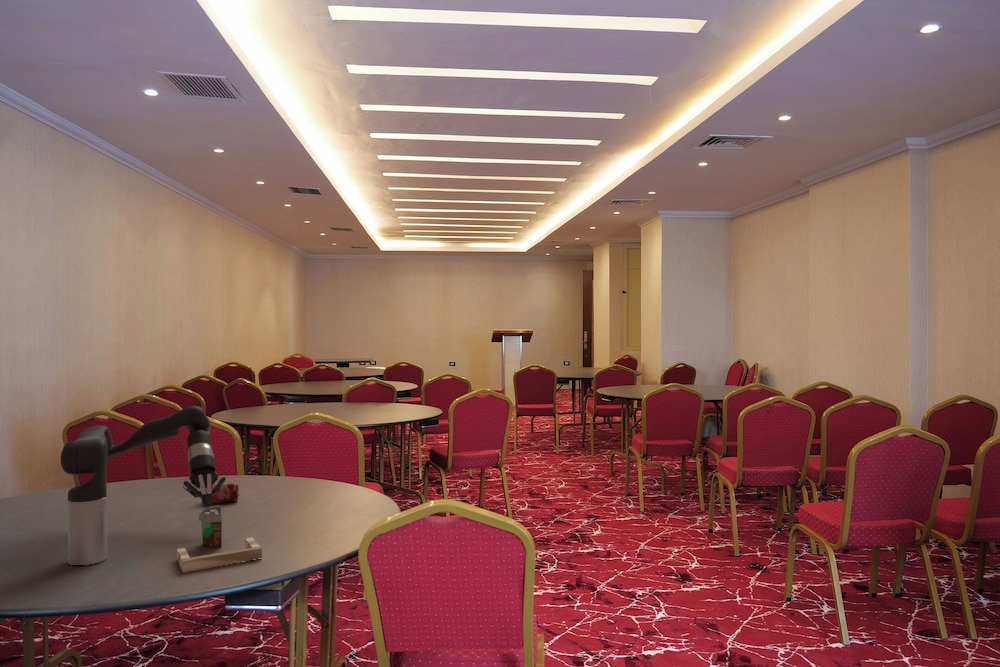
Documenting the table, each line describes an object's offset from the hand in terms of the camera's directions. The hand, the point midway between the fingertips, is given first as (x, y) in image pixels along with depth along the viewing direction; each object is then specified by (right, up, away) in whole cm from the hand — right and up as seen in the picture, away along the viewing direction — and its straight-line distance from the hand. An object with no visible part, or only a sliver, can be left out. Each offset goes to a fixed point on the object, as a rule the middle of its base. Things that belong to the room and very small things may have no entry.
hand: (207, 506), depth 212 cm
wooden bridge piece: (+12, -9, -21) cm, 26 cm away
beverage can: (-13, -9, +42) cm, 45 cm away
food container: (+4, -9, -8) cm, 13 cm away
